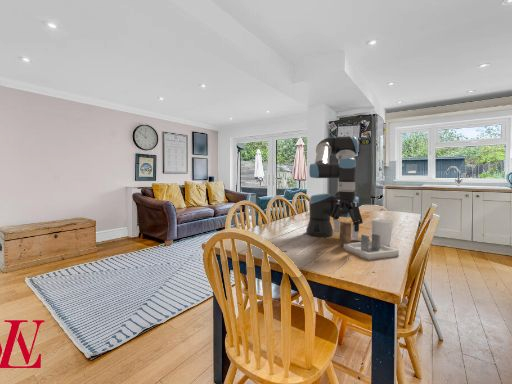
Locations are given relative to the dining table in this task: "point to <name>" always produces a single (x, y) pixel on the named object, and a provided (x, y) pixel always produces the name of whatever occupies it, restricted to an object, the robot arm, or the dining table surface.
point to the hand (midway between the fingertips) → (345, 235)
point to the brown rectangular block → (345, 233)
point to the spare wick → (356, 240)
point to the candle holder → (382, 230)
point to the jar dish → (371, 248)
